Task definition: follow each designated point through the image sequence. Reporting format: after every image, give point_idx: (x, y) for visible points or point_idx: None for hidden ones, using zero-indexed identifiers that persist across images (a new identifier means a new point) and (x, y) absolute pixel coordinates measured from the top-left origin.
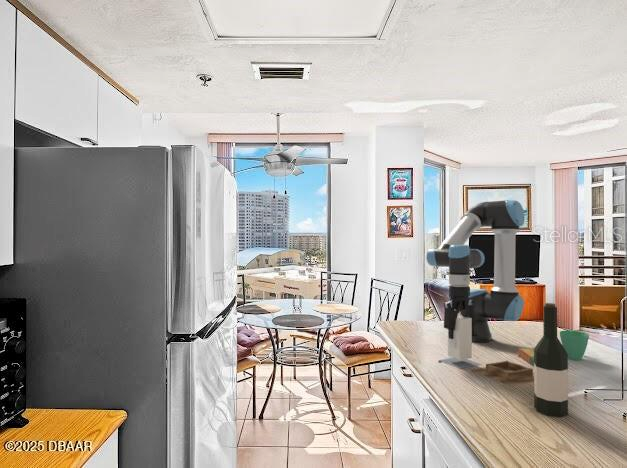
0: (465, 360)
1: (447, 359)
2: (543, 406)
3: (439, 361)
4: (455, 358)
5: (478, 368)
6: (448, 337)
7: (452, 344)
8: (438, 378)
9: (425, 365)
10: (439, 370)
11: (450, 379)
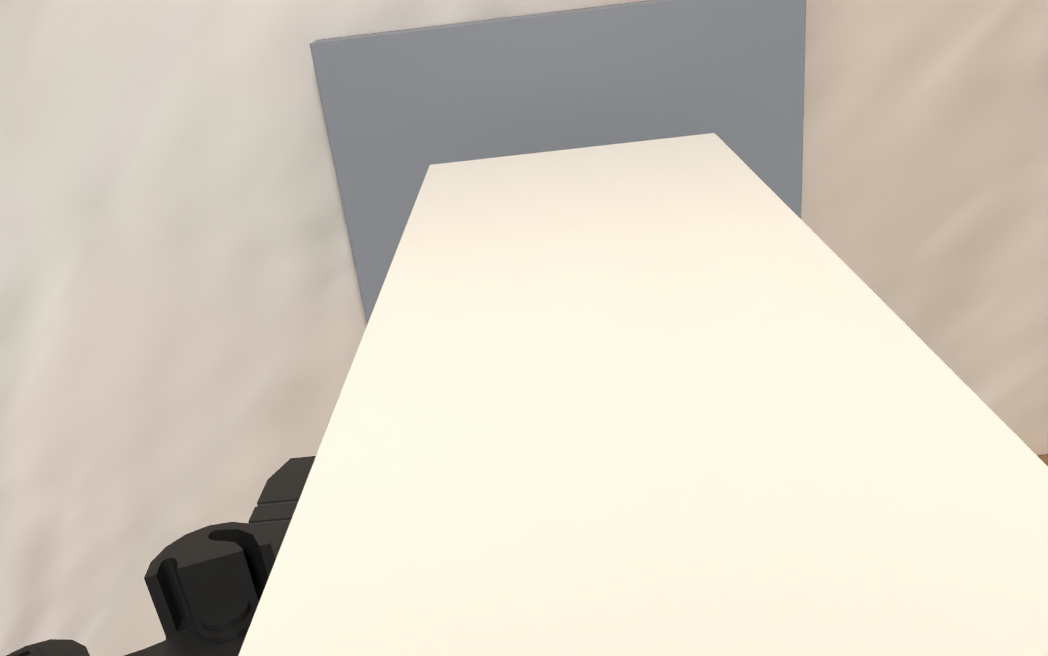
0: None
1: (482, 57)
2: None
3: (316, 67)
4: (648, 54)
5: None
6: (386, 302)
7: None
8: (20, 561)
9: (37, 107)
10: (153, 354)
11: (141, 615)
